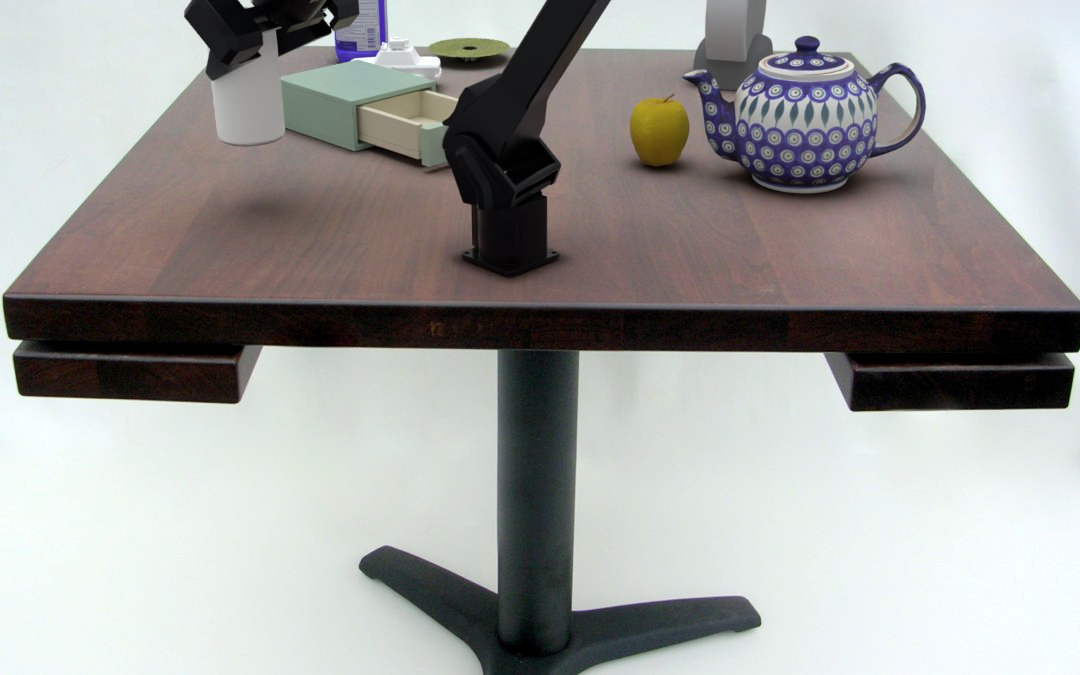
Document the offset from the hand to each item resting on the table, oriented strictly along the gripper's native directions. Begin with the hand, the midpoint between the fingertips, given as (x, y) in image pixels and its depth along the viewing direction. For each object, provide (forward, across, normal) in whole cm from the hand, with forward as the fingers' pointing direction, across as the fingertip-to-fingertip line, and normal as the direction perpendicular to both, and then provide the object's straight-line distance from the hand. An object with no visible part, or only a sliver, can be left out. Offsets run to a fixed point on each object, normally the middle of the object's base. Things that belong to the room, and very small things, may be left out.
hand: (234, 68), depth 130 cm
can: (+4, 0, +6) cm, 7 cm away
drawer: (+3, -23, +15) cm, 27 cm away
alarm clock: (-6, -69, +26) cm, 74 cm away
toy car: (+18, -43, +1) cm, 47 cm away
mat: (+18, -60, +1) cm, 63 cm away
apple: (-11, -31, +32) cm, 46 cm away
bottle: (+26, -52, -8) cm, 59 cm away
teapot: (-21, -34, +42) cm, 58 cm away
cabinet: (+14, -27, +5) cm, 30 cm away
